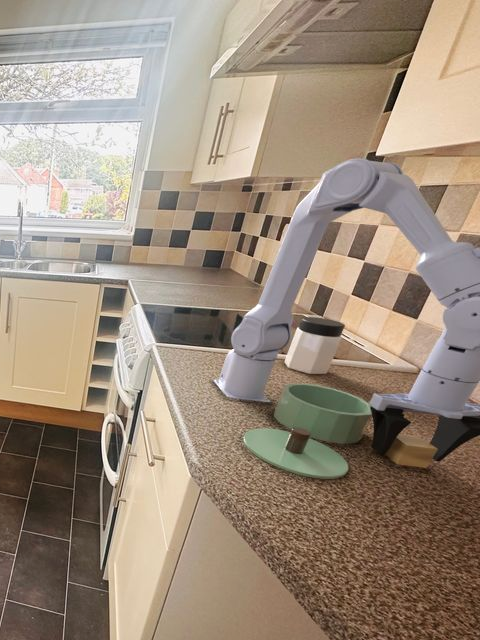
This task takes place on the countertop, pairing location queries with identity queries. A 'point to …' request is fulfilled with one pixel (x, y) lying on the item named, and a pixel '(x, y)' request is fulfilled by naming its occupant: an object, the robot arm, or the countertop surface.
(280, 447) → the lid
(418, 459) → the block
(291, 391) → the tin
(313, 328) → the jar
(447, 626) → the countertop surface
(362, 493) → the countertop surface
